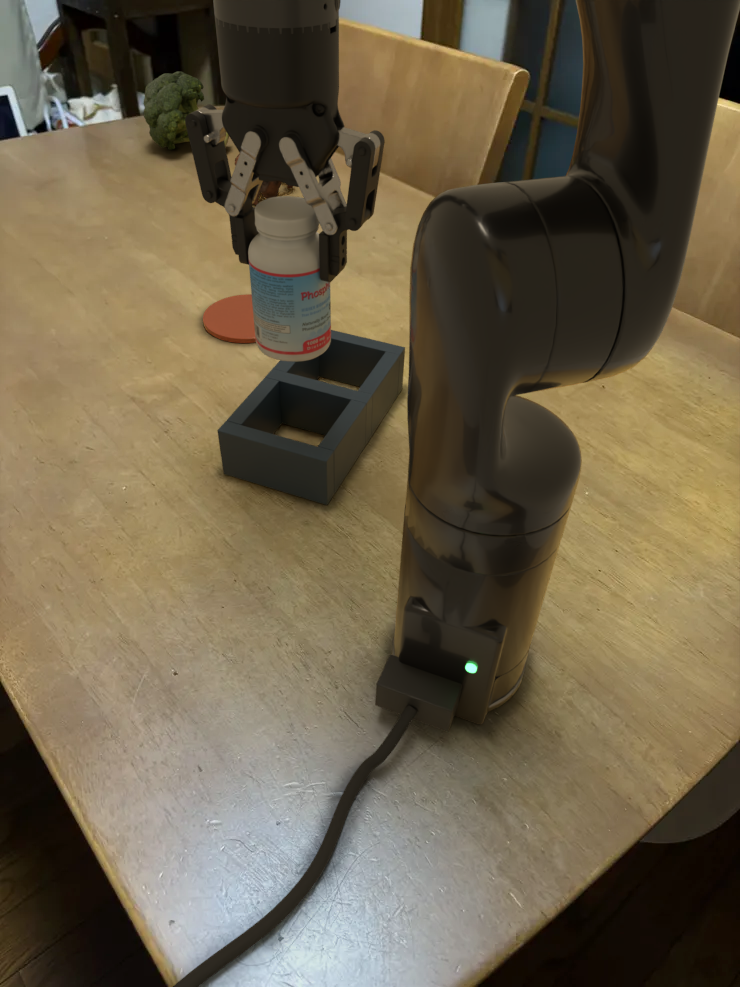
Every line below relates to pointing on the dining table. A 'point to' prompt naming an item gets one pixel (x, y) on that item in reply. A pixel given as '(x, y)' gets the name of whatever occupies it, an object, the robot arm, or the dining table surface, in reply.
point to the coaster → (231, 319)
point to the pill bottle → (288, 281)
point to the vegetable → (171, 107)
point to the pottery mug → (267, 188)
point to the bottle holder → (313, 417)
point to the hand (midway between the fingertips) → (290, 267)
